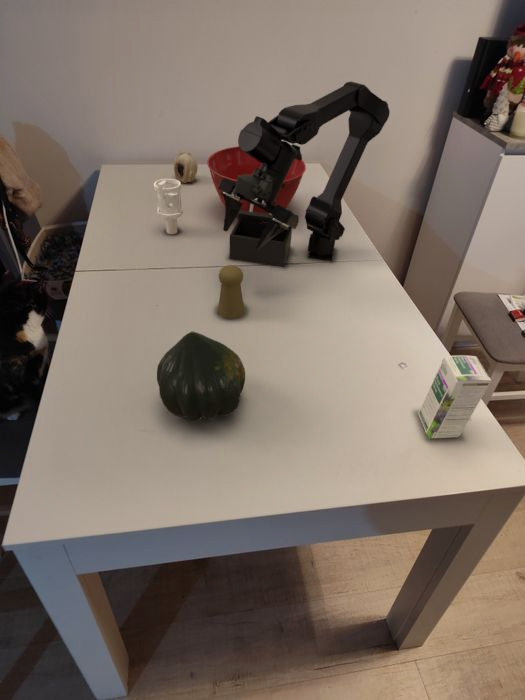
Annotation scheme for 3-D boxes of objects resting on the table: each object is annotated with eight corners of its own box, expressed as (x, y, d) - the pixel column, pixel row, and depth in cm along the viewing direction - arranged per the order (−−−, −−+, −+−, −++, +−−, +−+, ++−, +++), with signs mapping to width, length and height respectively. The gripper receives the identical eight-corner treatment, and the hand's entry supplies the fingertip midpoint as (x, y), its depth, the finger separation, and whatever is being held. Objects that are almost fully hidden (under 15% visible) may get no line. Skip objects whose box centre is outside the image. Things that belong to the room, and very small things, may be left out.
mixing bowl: (319, 220, 136) (326, 169, 126) (240, 243, 124) (241, 189, 113) (266, 187, 153) (269, 140, 143) (192, 205, 140) (189, 154, 130)
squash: (229, 433, 69) (241, 336, 68) (137, 419, 70) (148, 325, 70) (244, 419, 83) (254, 339, 83) (168, 408, 85) (177, 330, 84)
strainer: (154, 234, 125) (147, 181, 115) (167, 223, 130) (162, 172, 120) (176, 239, 124) (171, 186, 114) (189, 229, 128) (185, 177, 118)
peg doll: (240, 320, 98) (241, 278, 91) (214, 316, 99) (212, 274, 91) (247, 305, 102) (248, 263, 95) (221, 301, 103) (220, 259, 96)
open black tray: (283, 267, 115) (286, 243, 111) (229, 258, 117) (229, 235, 113) (290, 249, 122) (292, 226, 118) (238, 241, 124) (238, 219, 120)
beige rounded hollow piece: (177, 183, 158) (171, 153, 154) (201, 179, 158) (195, 149, 154) (174, 185, 149) (167, 153, 145) (199, 181, 149) (193, 149, 145)
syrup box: (416, 413, 80) (441, 354, 71) (447, 412, 81) (477, 354, 71) (427, 439, 76) (456, 380, 66) (460, 438, 77) (493, 379, 67)
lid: (288, 220, 107) (291, 200, 107) (230, 212, 109) (232, 193, 109) (292, 226, 118) (295, 208, 117) (238, 218, 119) (241, 201, 119)
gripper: (220, 141, 89) (188, 214, 93) (295, 177, 83) (258, 253, 87) (245, 159, 99) (216, 224, 103) (314, 193, 93) (280, 260, 97)
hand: (240, 239), depth 97 cm, fingers open, 9 cm apart
